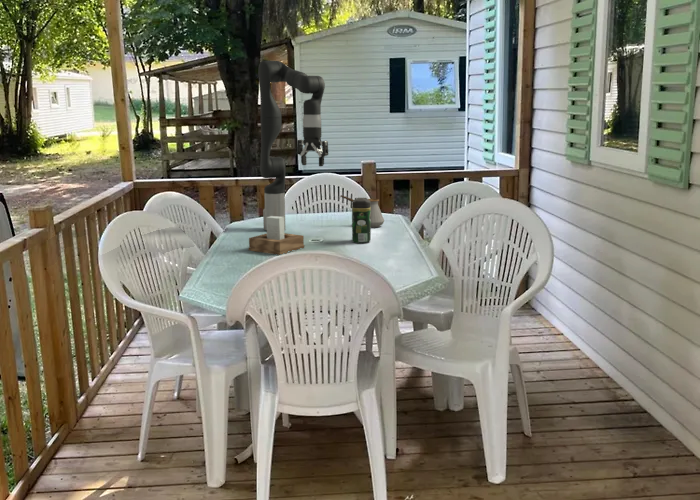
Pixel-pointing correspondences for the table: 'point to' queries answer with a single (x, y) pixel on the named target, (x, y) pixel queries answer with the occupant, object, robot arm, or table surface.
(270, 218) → the skincare box
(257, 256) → the table surface
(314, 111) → the robot arm
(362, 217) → the coffee jar
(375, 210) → the coffee pot
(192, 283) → the table surface
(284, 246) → the holder
